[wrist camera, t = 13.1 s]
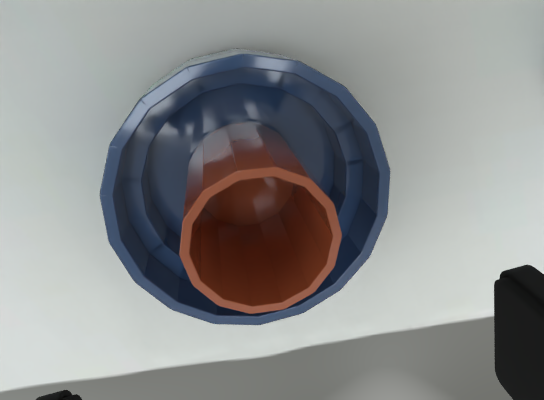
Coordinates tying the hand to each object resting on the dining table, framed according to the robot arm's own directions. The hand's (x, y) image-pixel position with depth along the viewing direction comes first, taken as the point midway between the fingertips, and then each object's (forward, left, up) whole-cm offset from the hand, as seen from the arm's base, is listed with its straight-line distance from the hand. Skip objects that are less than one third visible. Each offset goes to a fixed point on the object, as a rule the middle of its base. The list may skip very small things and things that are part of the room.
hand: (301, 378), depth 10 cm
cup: (+1, +1, -18) cm, 18 cm away
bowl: (+1, +1, -18) cm, 18 cm away
